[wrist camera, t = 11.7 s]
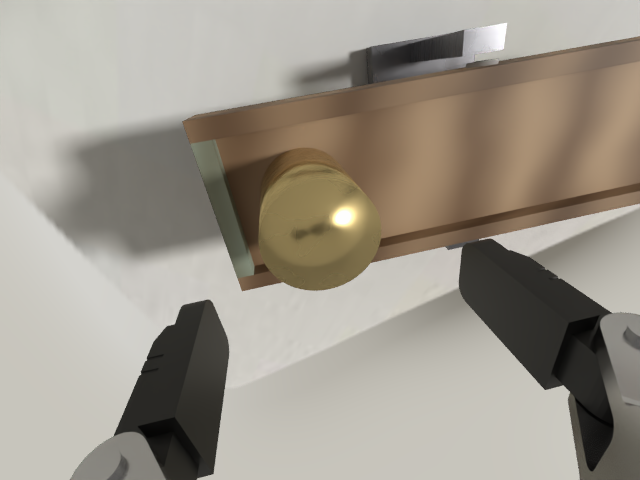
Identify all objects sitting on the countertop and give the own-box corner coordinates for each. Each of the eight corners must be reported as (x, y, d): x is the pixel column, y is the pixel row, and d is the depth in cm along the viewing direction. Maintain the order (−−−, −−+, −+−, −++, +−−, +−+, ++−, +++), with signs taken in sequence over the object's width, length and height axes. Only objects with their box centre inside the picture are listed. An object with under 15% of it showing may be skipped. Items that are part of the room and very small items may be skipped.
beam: (714, 19, 19) (788, 9, 16) (649, 180, 24) (697, 193, 21) (194, 111, 16) (180, 117, 14) (245, 267, 21) (242, 293, 19)
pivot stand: (467, 31, 23) (556, 10, 16) (454, 200, 30) (512, 237, 23) (366, 48, 22) (413, 33, 15) (376, 217, 29) (412, 260, 22)
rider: (341, 139, 16) (377, 167, 11) (351, 221, 19) (384, 276, 13) (250, 157, 16) (242, 195, 11) (272, 238, 18) (274, 301, 13)
